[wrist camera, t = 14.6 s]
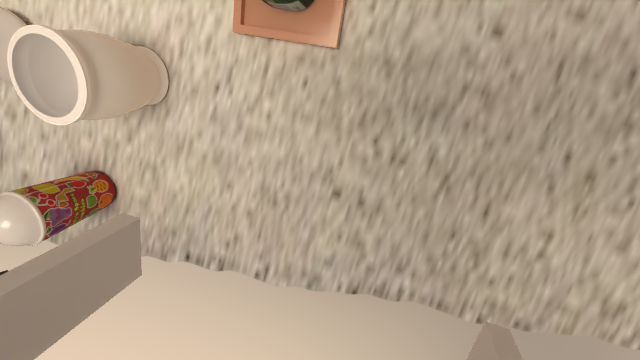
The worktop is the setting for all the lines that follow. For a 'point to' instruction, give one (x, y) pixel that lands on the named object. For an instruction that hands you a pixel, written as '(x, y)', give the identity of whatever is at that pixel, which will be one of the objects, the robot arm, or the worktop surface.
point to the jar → (82, 74)
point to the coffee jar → (289, 4)
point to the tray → (291, 22)
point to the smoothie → (51, 207)
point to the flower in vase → (7, 39)
